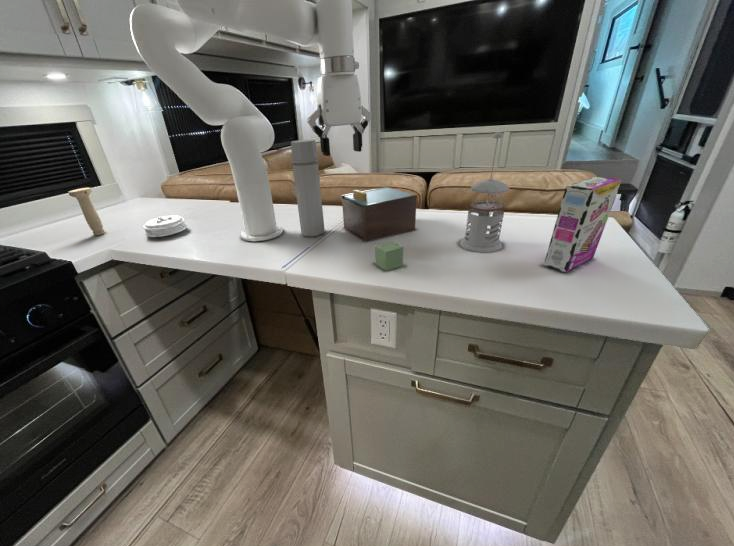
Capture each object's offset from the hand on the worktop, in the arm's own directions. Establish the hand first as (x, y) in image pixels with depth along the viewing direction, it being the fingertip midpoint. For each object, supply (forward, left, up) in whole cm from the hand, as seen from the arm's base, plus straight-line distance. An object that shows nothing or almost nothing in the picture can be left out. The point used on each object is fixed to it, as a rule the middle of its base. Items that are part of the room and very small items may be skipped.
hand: (342, 152), depth 83 cm
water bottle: (-9, -7, -22) cm, 25 cm away
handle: (-54, -70, -22) cm, 91 cm away
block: (+23, -1, -22) cm, 32 cm away
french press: (+25, +25, -22) cm, 42 cm away
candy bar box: (+43, +31, -22) cm, 58 cm away
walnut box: (0, +10, -22) cm, 24 cm away
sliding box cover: (0, +10, -13) cm, 16 cm away
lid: (-39, -48, -22) cm, 65 cm away
